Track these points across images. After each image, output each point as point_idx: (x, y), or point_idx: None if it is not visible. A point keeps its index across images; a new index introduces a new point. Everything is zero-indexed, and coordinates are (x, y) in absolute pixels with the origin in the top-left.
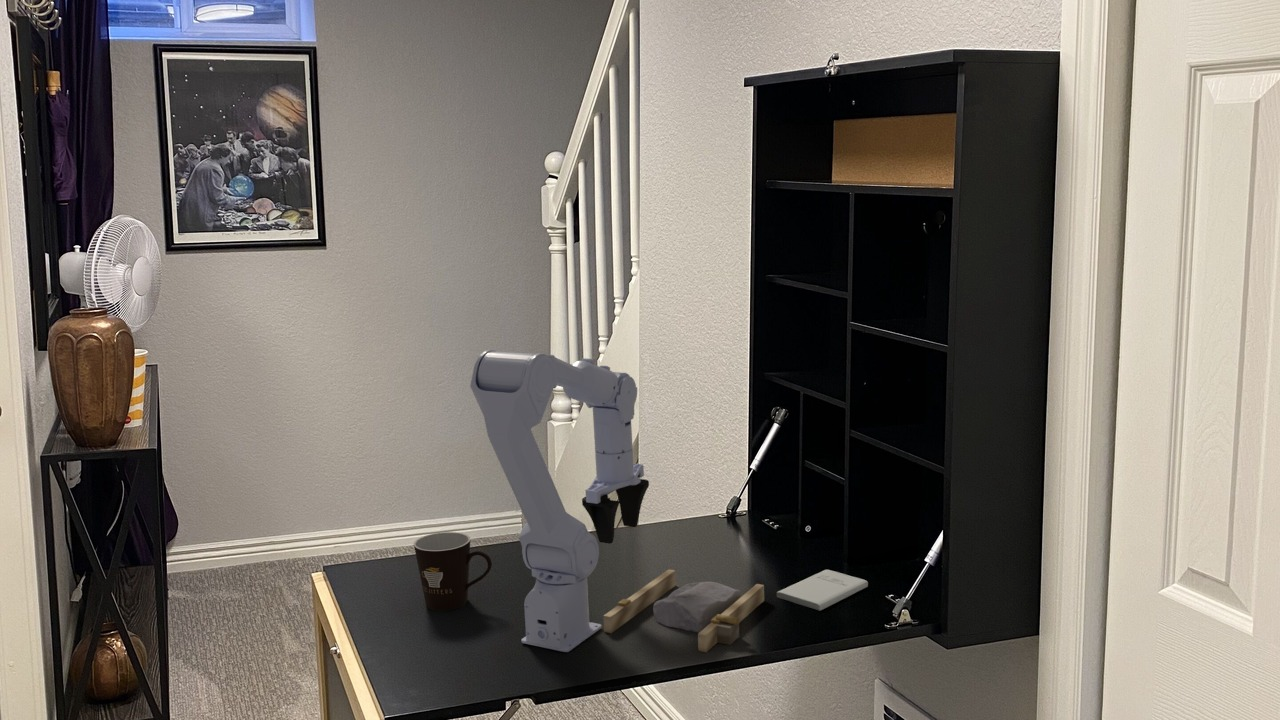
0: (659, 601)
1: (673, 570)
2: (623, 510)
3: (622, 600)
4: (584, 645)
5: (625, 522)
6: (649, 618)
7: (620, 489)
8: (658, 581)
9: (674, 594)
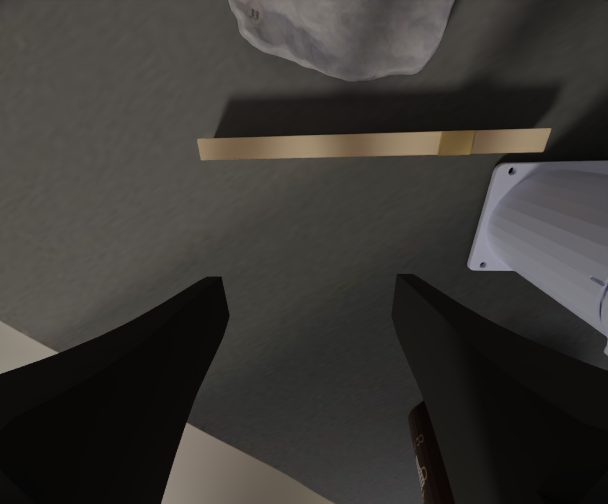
0: (434, 37)
1: (199, 143)
2: (204, 361)
3: (453, 150)
4: (593, 150)
5: (224, 318)
6: (411, 89)
7: (146, 490)
8: (282, 140)
9: (323, 57)
